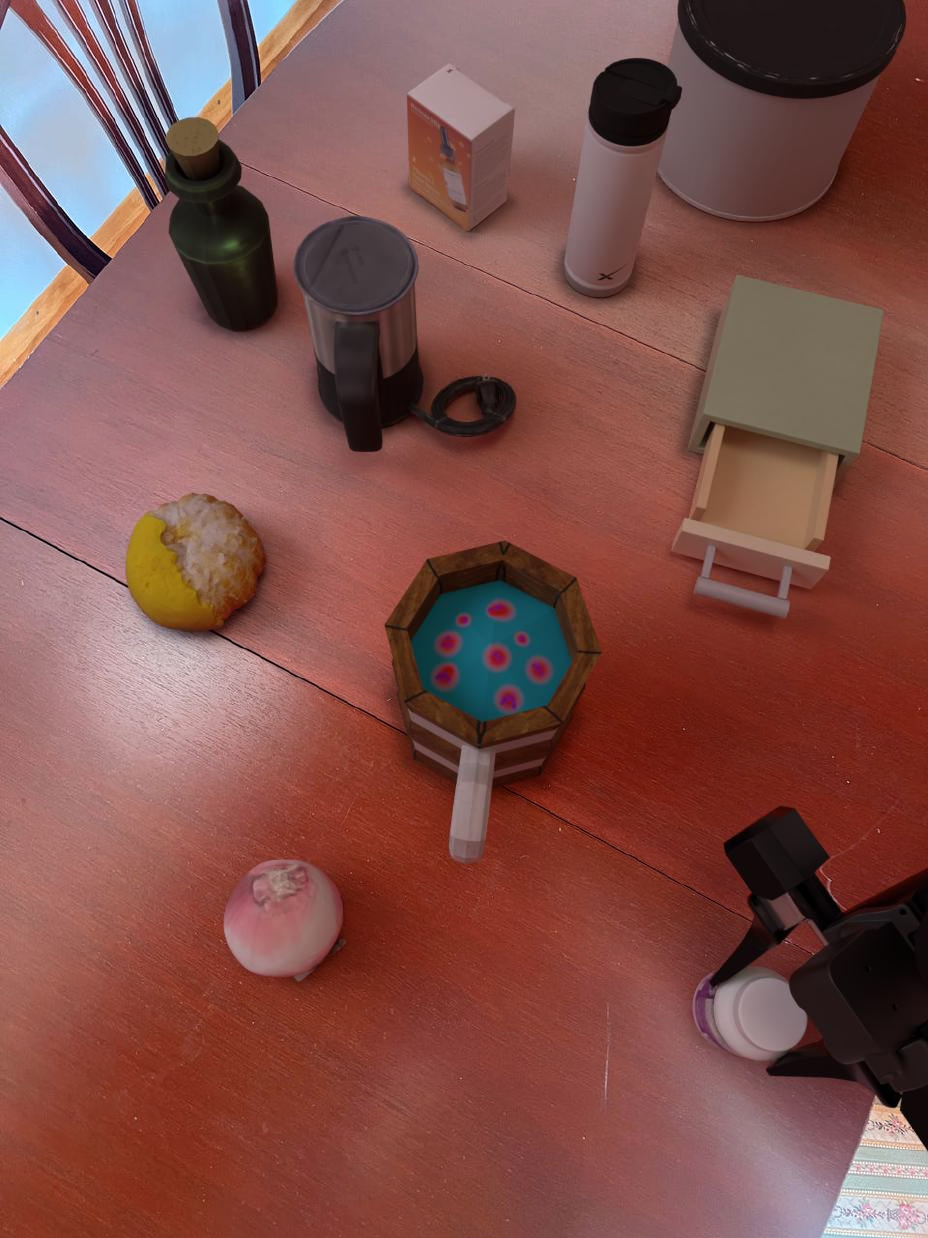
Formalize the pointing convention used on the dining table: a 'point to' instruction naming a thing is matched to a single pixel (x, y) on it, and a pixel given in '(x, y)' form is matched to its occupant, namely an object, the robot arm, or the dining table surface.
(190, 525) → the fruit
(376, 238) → the milk frother
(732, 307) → the cabinet
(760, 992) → the pill bottle
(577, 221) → the travel mug
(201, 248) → the potion bottle
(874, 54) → the container
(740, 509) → the drawer
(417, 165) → the small box
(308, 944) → the turnip
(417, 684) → the mug
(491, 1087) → the dining table surface
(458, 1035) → the dining table surface
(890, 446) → the dining table surface
